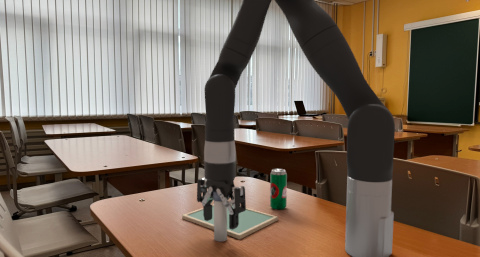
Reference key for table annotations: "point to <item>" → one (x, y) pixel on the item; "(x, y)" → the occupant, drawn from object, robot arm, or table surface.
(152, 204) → the table surface
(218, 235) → the marker
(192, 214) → the slate
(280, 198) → the soda can
